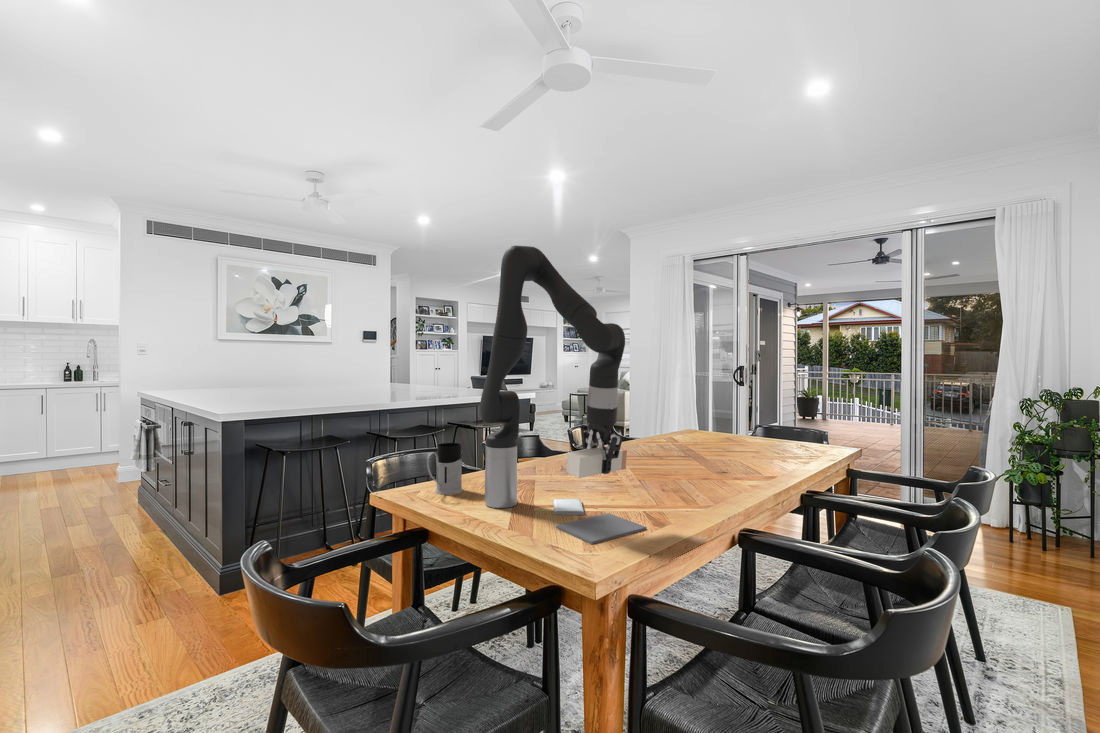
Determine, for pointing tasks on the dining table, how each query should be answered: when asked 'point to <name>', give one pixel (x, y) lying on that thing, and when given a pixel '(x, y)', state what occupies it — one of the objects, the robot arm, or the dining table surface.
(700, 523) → the dining table surface
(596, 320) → the robot arm
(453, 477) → the grey coffee pot
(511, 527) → the dining table surface
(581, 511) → the hard drive
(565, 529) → the rubber mat
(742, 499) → the dining table surface
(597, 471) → the capped block
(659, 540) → the dining table surface
